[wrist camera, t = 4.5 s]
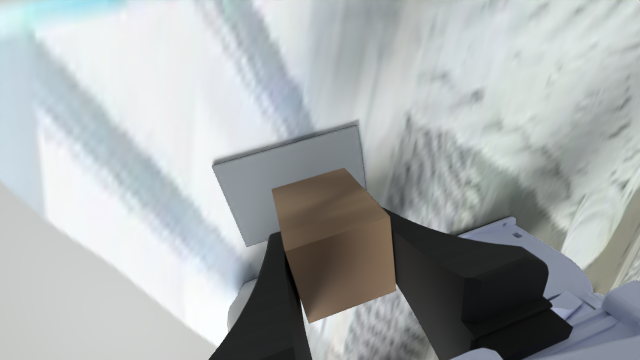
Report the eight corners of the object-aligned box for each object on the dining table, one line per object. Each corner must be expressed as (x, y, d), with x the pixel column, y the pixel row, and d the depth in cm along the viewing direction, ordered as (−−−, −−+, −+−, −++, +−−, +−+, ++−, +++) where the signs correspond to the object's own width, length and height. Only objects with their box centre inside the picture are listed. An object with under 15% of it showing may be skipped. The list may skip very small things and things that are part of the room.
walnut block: (344, 167, 14) (389, 216, 10) (354, 226, 16) (396, 290, 12) (271, 188, 14) (284, 251, 9) (290, 247, 15) (308, 323, 11)
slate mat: (355, 125, 20) (357, 126, 20) (367, 205, 24) (368, 207, 24) (212, 165, 19) (212, 167, 19) (246, 244, 22) (246, 247, 22)
